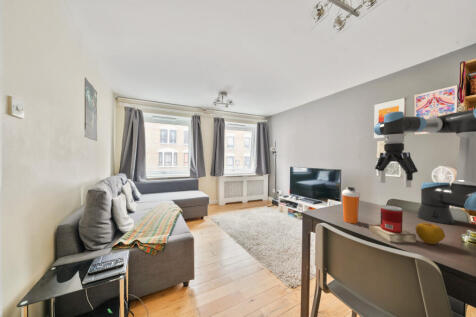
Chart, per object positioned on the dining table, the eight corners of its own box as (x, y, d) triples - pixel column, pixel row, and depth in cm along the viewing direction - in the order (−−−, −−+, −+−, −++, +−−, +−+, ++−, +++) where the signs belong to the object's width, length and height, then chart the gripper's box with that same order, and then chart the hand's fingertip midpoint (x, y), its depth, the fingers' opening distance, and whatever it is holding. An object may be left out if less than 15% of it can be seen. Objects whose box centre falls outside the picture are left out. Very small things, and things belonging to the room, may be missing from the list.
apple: (439, 250, 71) (439, 228, 71) (410, 240, 80) (411, 221, 79) (448, 245, 75) (449, 225, 75) (420, 237, 83) (420, 218, 83)
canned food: (406, 234, 79) (407, 210, 79) (386, 232, 81) (387, 209, 81) (395, 227, 87) (395, 205, 87) (376, 226, 88) (377, 204, 88)
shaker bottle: (343, 222, 100) (343, 188, 100) (340, 217, 109) (340, 186, 108) (361, 225, 97) (362, 189, 97) (357, 219, 105) (357, 187, 105)
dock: (391, 230, 90) (391, 224, 90) (415, 242, 78) (416, 234, 78) (369, 230, 90) (369, 224, 90) (390, 242, 78) (390, 235, 78)
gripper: (367, 144, 100) (367, 181, 100) (412, 141, 75) (412, 189, 75) (379, 144, 100) (380, 181, 101) (429, 140, 75) (429, 189, 76)
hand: (394, 184), depth 88 cm, fingers open, 13 cm apart
